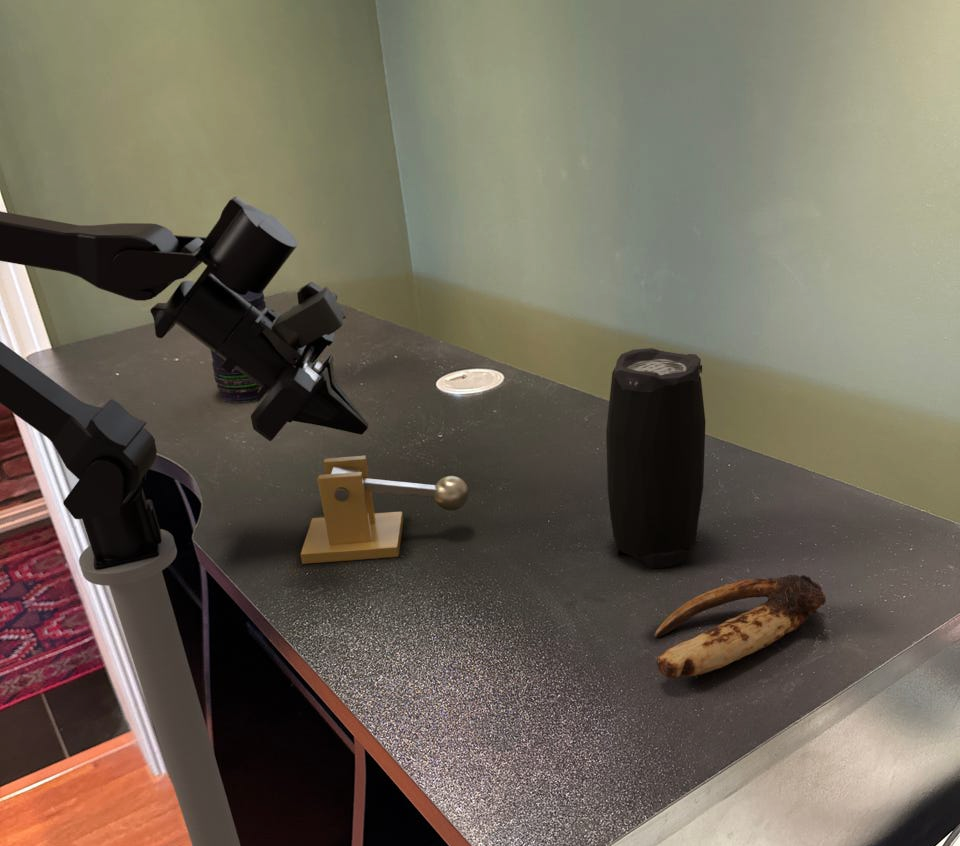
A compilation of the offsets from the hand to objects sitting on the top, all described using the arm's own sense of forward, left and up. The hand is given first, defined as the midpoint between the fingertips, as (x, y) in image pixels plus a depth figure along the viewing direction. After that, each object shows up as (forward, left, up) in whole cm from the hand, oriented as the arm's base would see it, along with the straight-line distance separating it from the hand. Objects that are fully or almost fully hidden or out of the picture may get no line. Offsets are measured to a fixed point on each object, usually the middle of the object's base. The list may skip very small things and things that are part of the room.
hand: (365, 430), depth 91 cm
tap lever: (+2, -1, -8) cm, 9 cm away
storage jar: (-7, +57, -13) cm, 59 cm away
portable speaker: (+24, -15, -13) cm, 31 cm away
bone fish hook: (+22, -31, -13) cm, 40 cm away
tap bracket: (-3, +1, -13) cm, 13 cm away
